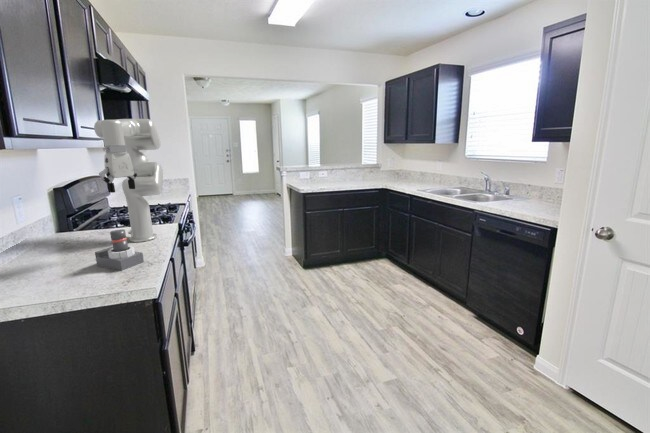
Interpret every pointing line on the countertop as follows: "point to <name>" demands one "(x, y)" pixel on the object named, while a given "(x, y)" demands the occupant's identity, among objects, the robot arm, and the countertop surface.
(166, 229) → the countertop surface
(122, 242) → the lens
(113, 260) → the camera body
